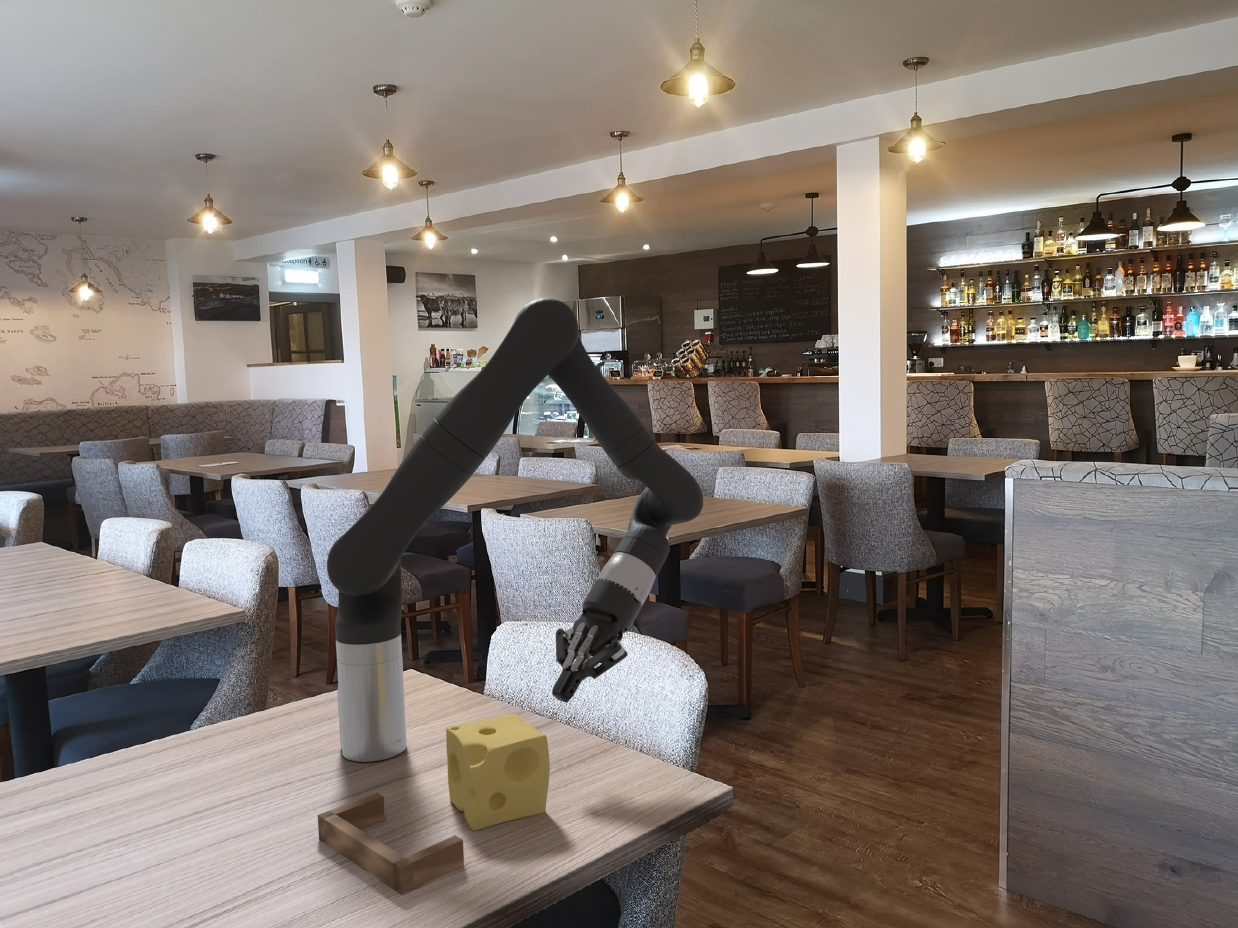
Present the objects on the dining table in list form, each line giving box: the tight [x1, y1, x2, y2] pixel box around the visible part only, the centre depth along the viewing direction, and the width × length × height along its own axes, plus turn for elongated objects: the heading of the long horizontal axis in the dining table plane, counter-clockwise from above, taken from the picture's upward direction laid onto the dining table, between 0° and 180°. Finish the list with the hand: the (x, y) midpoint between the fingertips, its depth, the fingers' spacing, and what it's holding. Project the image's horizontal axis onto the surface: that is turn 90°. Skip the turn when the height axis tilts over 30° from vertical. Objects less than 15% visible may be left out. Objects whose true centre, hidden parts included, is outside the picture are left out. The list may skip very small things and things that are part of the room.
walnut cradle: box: [317, 792, 465, 896], centre depth 107 cm, size 18×8×3 cm, turn 45°
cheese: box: [445, 713, 551, 832], centre depth 118 cm, size 10×11×10 cm
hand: (559, 698), depth 125 cm, fingers closed
